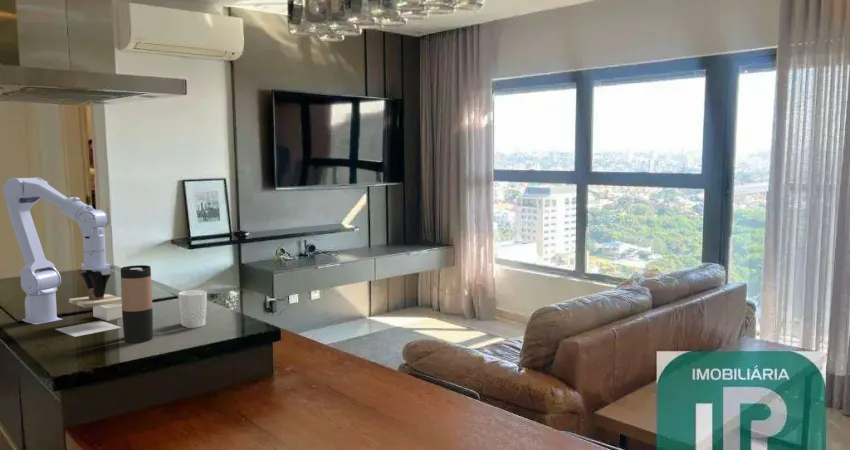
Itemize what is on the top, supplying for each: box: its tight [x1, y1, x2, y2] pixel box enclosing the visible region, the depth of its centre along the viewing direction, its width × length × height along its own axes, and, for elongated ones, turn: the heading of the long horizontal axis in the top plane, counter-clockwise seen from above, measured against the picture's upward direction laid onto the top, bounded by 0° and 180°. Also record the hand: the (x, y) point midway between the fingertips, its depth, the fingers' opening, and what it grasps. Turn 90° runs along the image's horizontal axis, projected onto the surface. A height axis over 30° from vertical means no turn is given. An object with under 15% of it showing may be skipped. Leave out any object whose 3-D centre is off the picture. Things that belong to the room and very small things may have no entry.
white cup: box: [178, 289, 208, 329], centre depth 190 cm, size 8×8×10 cm
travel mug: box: [120, 264, 154, 344], centre depth 174 cm, size 8×8×20 cm
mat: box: [54, 320, 123, 338], centre depth 185 cm, size 13×13×1 cm
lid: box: [68, 288, 122, 309], centre depth 189 cm, size 11×11×4 cm
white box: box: [92, 302, 123, 322], centre depth 199 cm, size 9×9×4 cm
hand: (96, 296), depth 189 cm, fingers closed on lid, 3 cm apart
